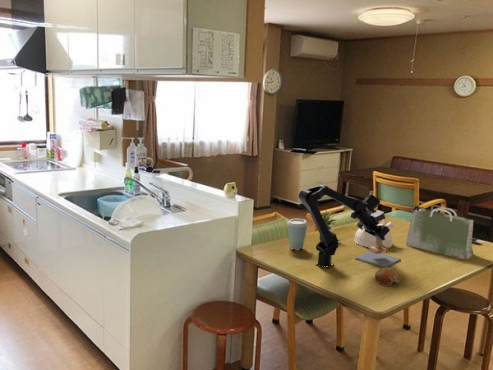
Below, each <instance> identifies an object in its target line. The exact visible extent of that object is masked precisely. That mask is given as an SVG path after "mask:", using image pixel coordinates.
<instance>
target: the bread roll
mask: <svg viewBox="0 0 493 370" xmlns="http://www.w3.org/2000/svg"><path fill="white" fill-rule="evenodd" d="M374 280H375V282H377V283H378V282H379V283H380V285H382V284H383V285H382V286H385V285H387V287H394V285H396V286H397V285H398V284H399V282H400V275H399V274H398V272H397V270H396V269H393V268H391V267H386V268H383V267H380V269H378V270H377V271H376V272H375V274H374ZM379 283H378V284H379Z"/></svg>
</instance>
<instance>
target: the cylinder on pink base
mask: <svg viewBox="0 0 493 370" xmlns="http://www.w3.org/2000/svg"><path fill="white" fill-rule="evenodd" d="M378 226H379V225H378ZM380 226H381V225H380ZM368 249H369V250H368V252H369V251H371V252H373V253H375V254H380V253H382V254H387V253H389V248H388V246H386V245H384V244H383V240H381V239H379V238H377V237H376V245H375V246H373V247H370V248H368Z"/></svg>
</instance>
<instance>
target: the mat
mask: <svg viewBox="0 0 493 370" xmlns="http://www.w3.org/2000/svg"><path fill="white" fill-rule="evenodd" d="M355 258H356V259H355ZM354 259H355V260H357V259H359V260H358V261H360V260H362V261H361V262H363V261H366V262H365V263H367V262H368V263H367V264H370V263H372V264H371V265H373V264H374V265H373V266H376V265H377V267H380V268H389V267H391V266H392V265H394V264H396V263H398V262H400V261H401V258H399V257H395V256H392V255H388V254H386V253H380V254H375V253H373V252H371V251H369V250H368V251H367V252H365V253H363V254H360V255H357V256H355V257H354Z"/></svg>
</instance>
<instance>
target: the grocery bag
mask: <svg viewBox="0 0 493 370" xmlns="http://www.w3.org/2000/svg"><path fill="white" fill-rule="evenodd" d="M439 211H440V212H439ZM441 211H442V212H445V213H442V212H441ZM451 212H452V213H453V214H452V213H451ZM446 213H447V214H446ZM409 223H410V224H409V227H408V232H407V236H406V237H407V238H406V241H405V246H406V247H407V246H408V247H413V248H416V249H417V248H418V249H420V250H421V249H422V250H424V251H425V250H426V251H429V252H432V253H437V254H440V255H445V256H447V257H448V256H449V257H452V258H457V259H463V260H469V259H470V258H471V257H472V256H473V255H474V249H473V245H472V244H473V243H472V241H473V231H474V219H469V218H465V217H461V216H458V214H457V212H456V211H455V210H453V209H452V208H449V207H444V206H441V207H437V208H433V209H432V210H431V209H424V208H419V209H413V212H412V216H411V219H410V222H409Z"/></svg>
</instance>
